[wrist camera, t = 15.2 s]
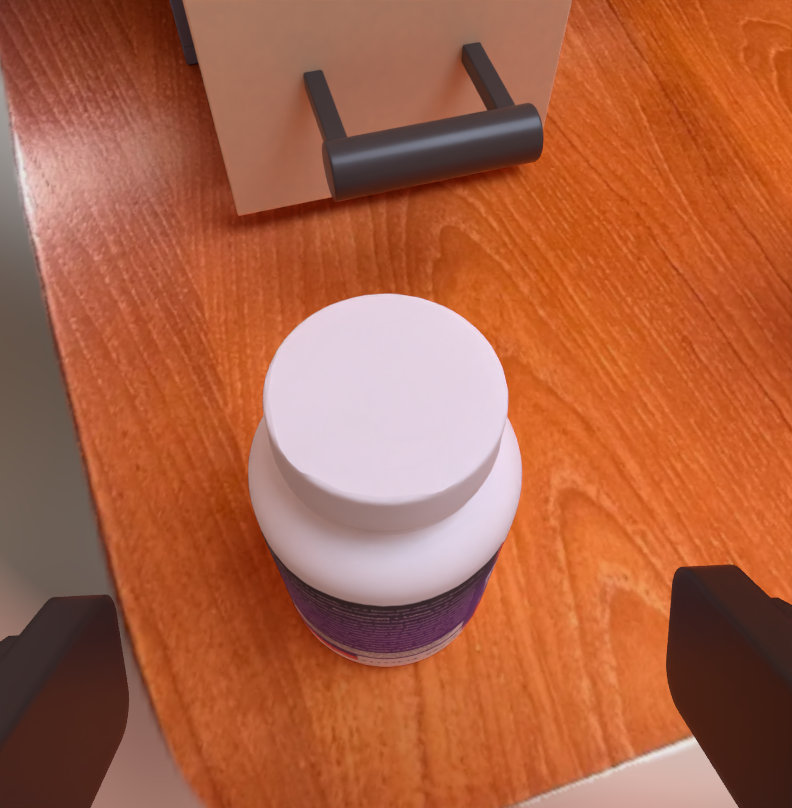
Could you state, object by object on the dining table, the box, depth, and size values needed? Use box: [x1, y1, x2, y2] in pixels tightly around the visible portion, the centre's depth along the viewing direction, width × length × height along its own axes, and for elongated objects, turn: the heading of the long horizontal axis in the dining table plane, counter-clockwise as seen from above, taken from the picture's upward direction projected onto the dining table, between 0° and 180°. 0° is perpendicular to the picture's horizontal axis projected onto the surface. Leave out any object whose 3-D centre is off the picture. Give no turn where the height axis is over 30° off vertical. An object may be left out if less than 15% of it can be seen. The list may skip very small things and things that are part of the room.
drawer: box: [182, 0, 572, 216], centre depth 25 cm, size 18×11×8 cm, turn 16°
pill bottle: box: [248, 294, 522, 667], centre depth 16 cm, size 5×5×10 cm
